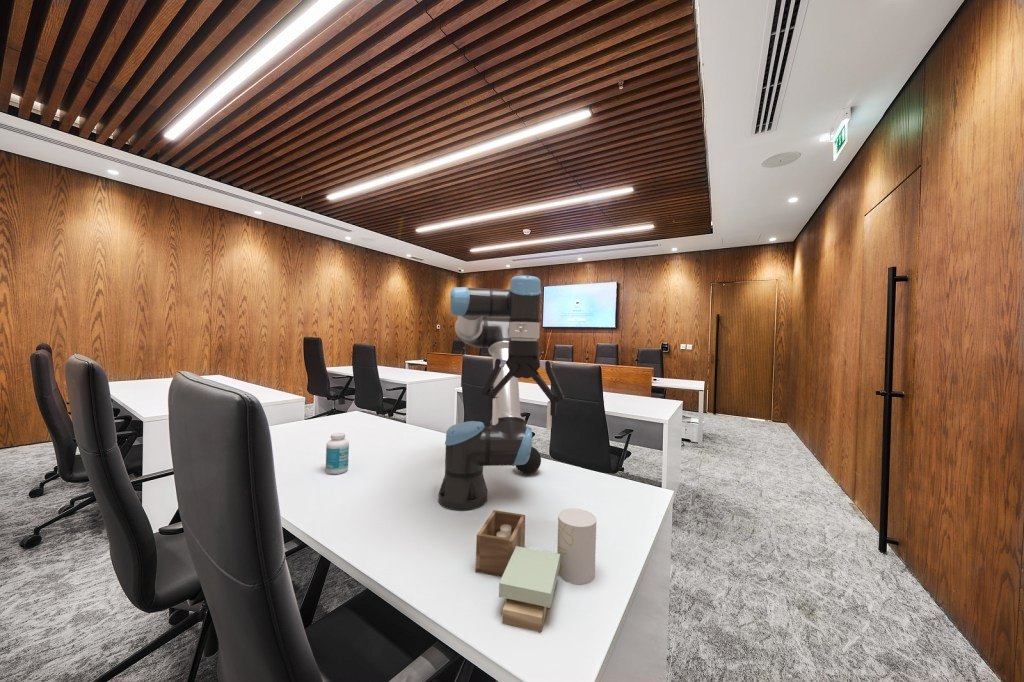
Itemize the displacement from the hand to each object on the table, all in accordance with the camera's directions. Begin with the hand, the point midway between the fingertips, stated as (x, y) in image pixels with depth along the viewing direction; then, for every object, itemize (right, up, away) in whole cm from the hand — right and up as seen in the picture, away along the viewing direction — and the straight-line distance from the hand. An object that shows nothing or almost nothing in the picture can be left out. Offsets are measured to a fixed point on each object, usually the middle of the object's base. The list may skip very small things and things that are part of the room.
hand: (521, 426), depth 92 cm
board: (+1, -29, -19) cm, 35 cm away
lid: (+1, -27, -19) cm, 33 cm away
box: (-5, -29, -7) cm, 30 cm away
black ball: (+3, -28, +47) cm, 55 cm away
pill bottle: (-66, -27, +44) cm, 83 cm away
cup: (+11, -29, -11) cm, 33 cm away
